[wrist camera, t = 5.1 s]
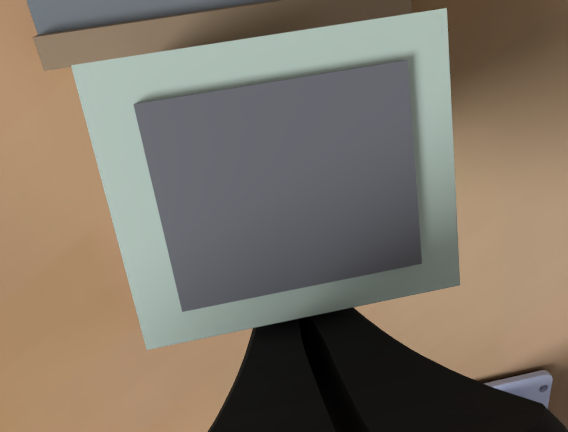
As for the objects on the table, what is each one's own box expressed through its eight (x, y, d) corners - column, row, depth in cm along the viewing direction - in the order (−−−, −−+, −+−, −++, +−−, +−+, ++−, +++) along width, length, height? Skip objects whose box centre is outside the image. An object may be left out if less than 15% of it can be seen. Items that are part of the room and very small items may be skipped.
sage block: (335, 177, 19) (465, 289, 10) (177, 205, 19) (145, 355, 9) (318, 39, 18) (452, 6, 8) (147, 66, 17) (67, 65, 7)
